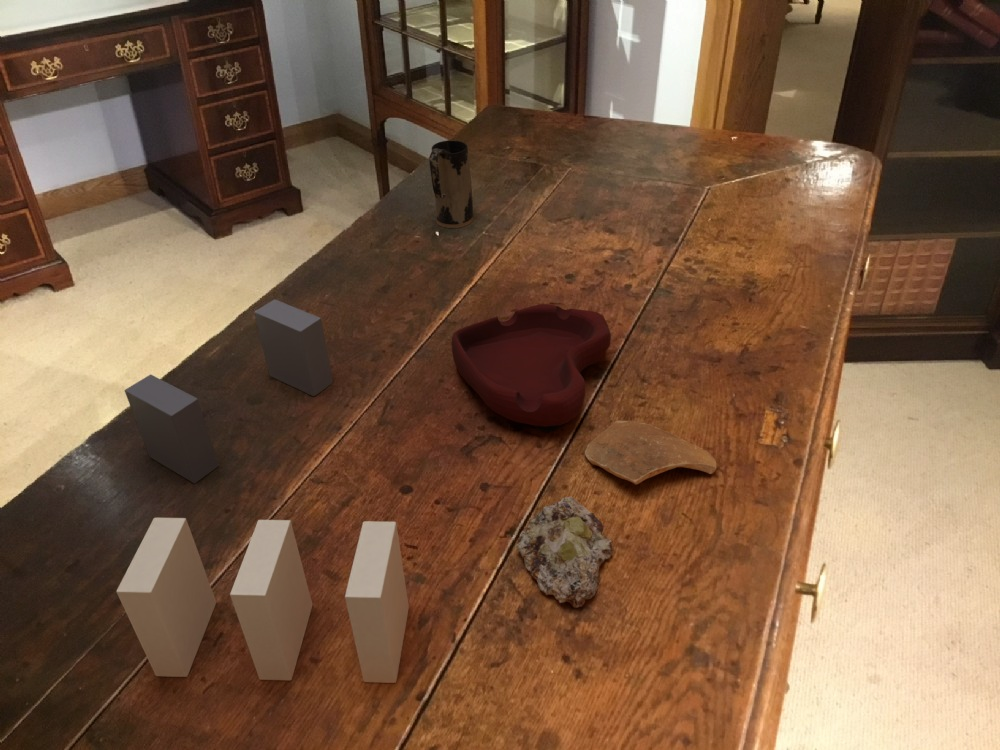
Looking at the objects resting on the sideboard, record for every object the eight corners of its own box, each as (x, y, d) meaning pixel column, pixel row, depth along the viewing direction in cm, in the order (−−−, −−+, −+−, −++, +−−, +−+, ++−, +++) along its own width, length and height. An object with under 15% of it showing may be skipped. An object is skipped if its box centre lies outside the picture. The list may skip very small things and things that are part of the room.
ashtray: (482, 325, 102) (480, 289, 99) (616, 349, 97) (618, 312, 94) (421, 416, 89) (417, 378, 86) (573, 448, 84) (574, 409, 81)
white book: (282, 604, 70) (258, 519, 64) (312, 605, 70) (290, 519, 64) (259, 680, 64) (229, 594, 58) (291, 680, 64) (265, 595, 58)
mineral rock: (507, 499, 75) (595, 476, 74) (521, 529, 78) (606, 508, 77) (516, 600, 67) (615, 576, 66) (532, 631, 70) (627, 608, 68)
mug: (446, 208, 128) (440, 130, 120) (479, 213, 126) (475, 135, 119) (422, 231, 122) (414, 151, 115) (457, 237, 120) (451, 156, 113)
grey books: (149, 457, 85) (123, 390, 80) (288, 362, 97) (274, 299, 92) (194, 484, 82) (171, 415, 76) (333, 382, 94) (321, 317, 89)
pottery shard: (721, 470, 81) (725, 450, 79) (656, 517, 76) (658, 497, 75) (639, 417, 87) (641, 398, 86) (574, 458, 83) (575, 438, 81)
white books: (155, 676, 65) (115, 591, 59) (187, 601, 70) (153, 517, 64) (396, 683, 64) (380, 597, 58) (409, 606, 69) (396, 521, 63)
